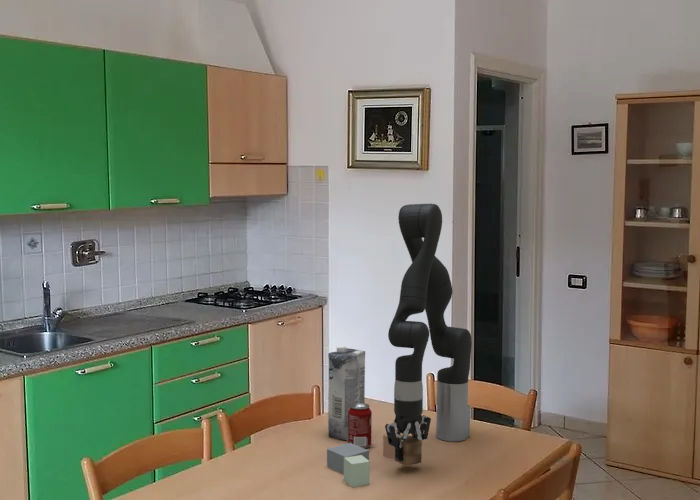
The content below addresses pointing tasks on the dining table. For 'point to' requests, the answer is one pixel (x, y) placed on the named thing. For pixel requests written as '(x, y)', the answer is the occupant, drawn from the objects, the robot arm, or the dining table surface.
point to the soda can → (359, 425)
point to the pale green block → (356, 471)
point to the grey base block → (343, 455)
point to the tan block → (388, 448)
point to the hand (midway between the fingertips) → (408, 457)
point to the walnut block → (411, 451)
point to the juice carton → (344, 388)
